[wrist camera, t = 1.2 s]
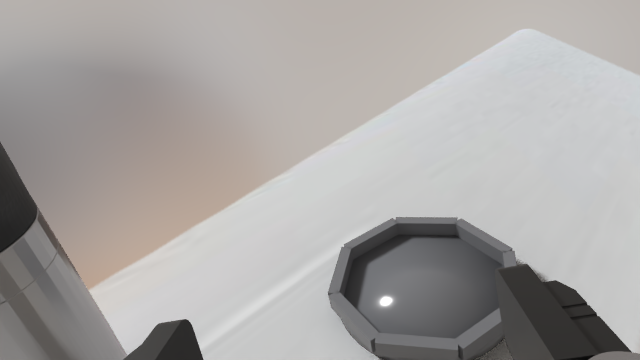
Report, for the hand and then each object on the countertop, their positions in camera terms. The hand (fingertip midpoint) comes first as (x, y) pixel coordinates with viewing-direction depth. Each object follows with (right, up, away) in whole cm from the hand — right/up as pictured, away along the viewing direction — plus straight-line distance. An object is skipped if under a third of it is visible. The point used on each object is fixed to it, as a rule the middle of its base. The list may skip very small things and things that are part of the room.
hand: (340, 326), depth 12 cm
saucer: (+9, -7, +31) cm, 33 cm away
